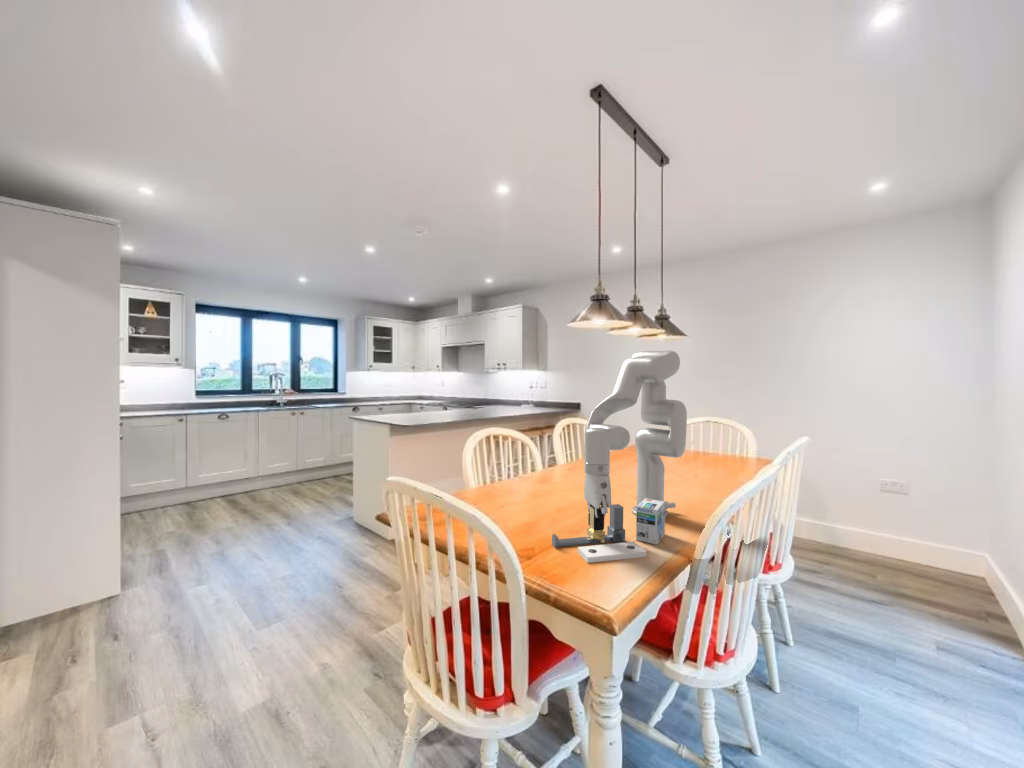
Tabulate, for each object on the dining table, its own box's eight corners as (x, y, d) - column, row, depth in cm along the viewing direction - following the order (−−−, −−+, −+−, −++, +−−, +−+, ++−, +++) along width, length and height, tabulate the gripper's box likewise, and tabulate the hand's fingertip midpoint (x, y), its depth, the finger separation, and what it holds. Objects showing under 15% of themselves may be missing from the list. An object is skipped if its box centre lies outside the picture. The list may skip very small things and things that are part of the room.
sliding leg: (599, 533, 133) (599, 504, 133) (609, 542, 126) (609, 512, 126) (587, 534, 132) (587, 505, 132) (596, 543, 125) (597, 513, 125)
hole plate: (633, 546, 127) (633, 541, 127) (646, 556, 121) (646, 551, 121) (577, 552, 123) (577, 546, 123) (587, 562, 116) (587, 557, 116)
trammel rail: (618, 537, 135) (619, 503, 134) (629, 546, 128) (630, 510, 127) (551, 543, 129) (551, 508, 129) (559, 553, 122) (559, 516, 122)
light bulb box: (657, 545, 129) (658, 510, 128) (635, 540, 132) (635, 506, 132) (665, 534, 138) (666, 501, 137) (644, 529, 141) (644, 497, 141)
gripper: (621, 474, 123) (620, 536, 123) (596, 462, 139) (596, 517, 139) (597, 475, 121) (596, 539, 122) (575, 463, 137) (574, 519, 137)
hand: (596, 527), depth 130 cm, fingers closed on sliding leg, 3 cm apart
